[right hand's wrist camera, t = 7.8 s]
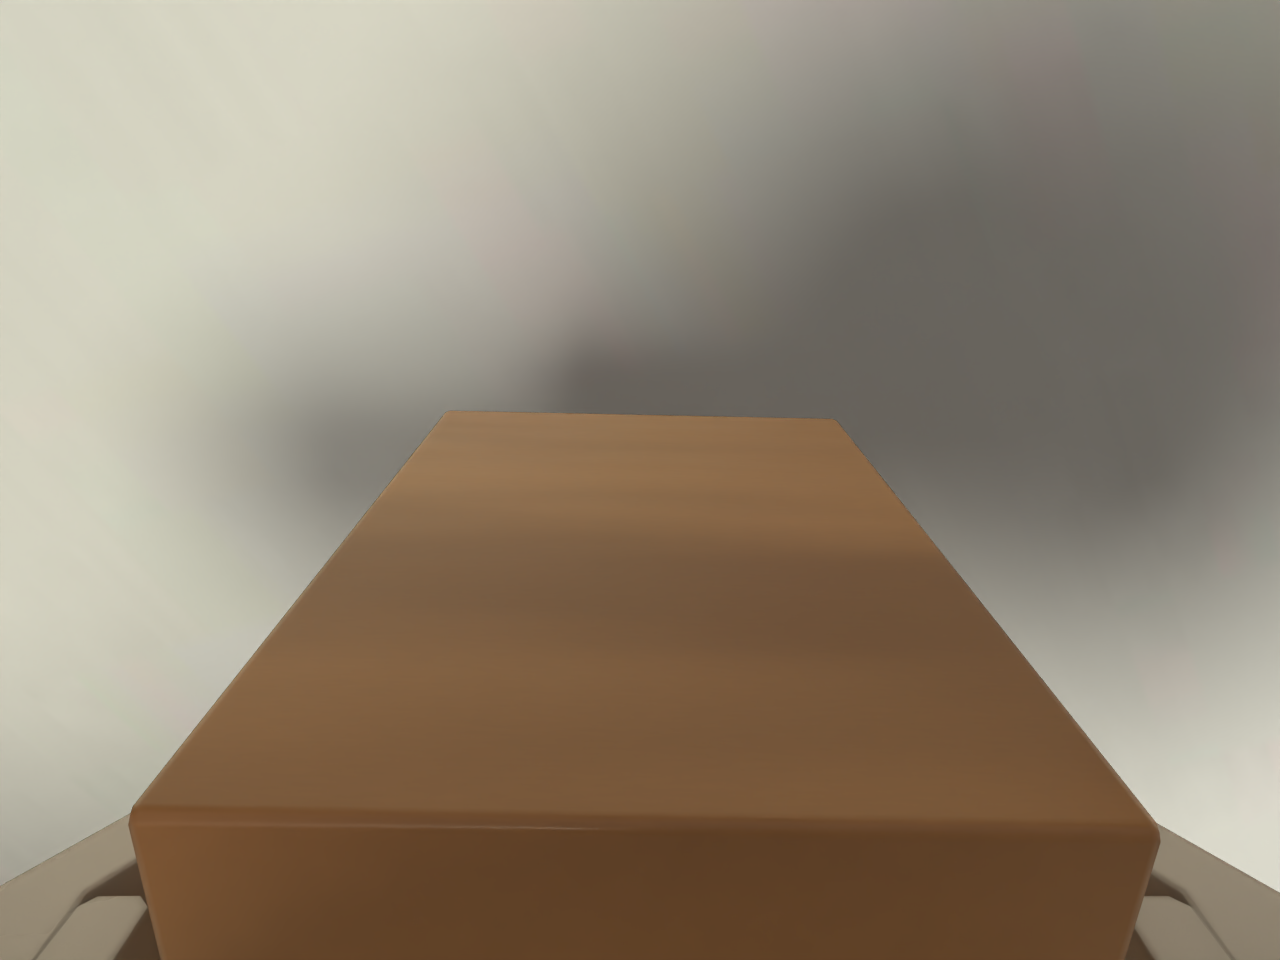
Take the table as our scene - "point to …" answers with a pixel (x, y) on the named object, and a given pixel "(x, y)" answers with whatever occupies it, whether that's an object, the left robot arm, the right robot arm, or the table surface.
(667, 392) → the table surface
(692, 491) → the bar
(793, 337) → the table surface
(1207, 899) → the right robot arm
